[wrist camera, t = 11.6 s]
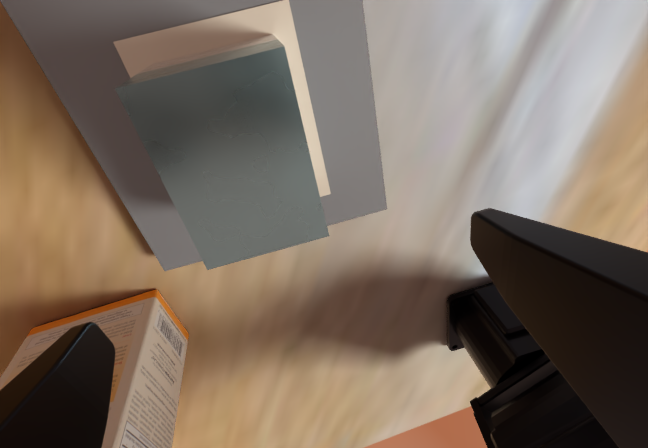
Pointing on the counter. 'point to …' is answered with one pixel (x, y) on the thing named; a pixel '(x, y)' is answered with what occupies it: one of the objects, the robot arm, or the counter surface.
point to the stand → (196, 36)
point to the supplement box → (128, 366)
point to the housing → (230, 148)
